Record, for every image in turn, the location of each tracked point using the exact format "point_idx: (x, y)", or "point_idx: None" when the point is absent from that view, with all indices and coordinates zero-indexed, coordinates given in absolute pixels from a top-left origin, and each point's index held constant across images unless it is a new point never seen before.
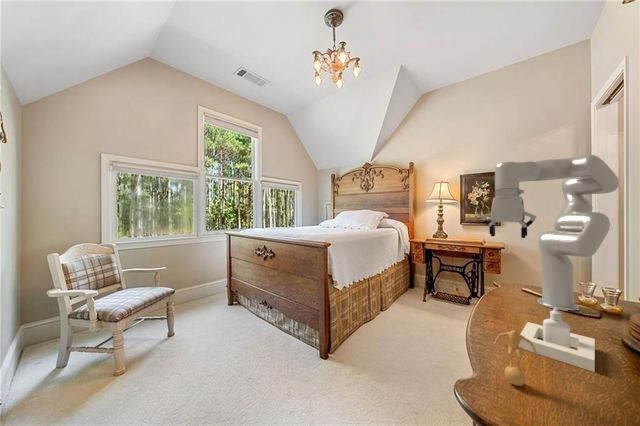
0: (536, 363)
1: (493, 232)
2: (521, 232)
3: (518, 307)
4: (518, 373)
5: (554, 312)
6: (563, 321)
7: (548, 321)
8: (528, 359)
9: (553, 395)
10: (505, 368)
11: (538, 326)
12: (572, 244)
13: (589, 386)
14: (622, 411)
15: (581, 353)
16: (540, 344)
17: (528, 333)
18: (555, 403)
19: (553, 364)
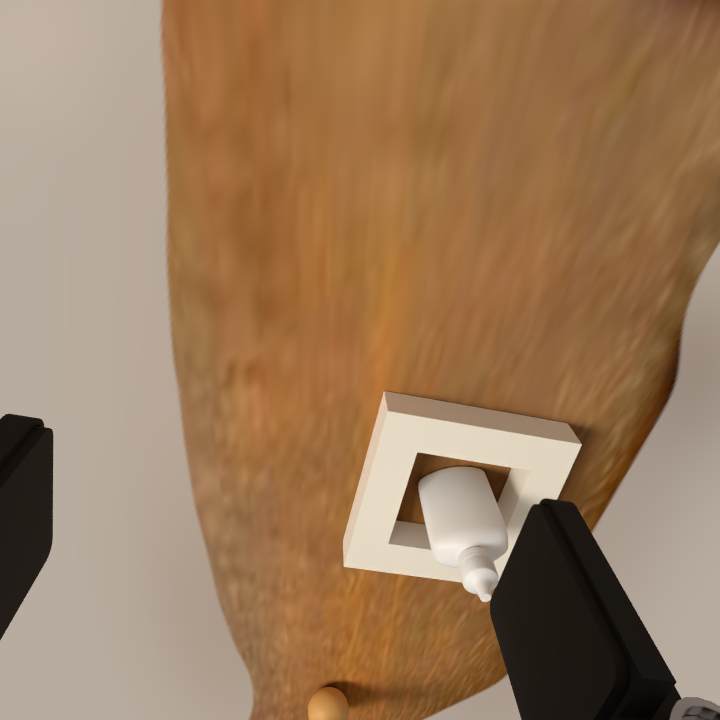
0: (380, 595)
1: (14, 587)
2: (517, 696)
3: (373, 39)
4: None
5: (474, 591)
6: (497, 546)
7: (446, 565)
8: (363, 587)
9: (393, 686)
10: (309, 715)
11: (421, 436)
12: None
13: (471, 624)
14: (498, 668)
15: (498, 569)
16: (401, 573)
17: (377, 519)
18: (392, 704)
19: (420, 578)
